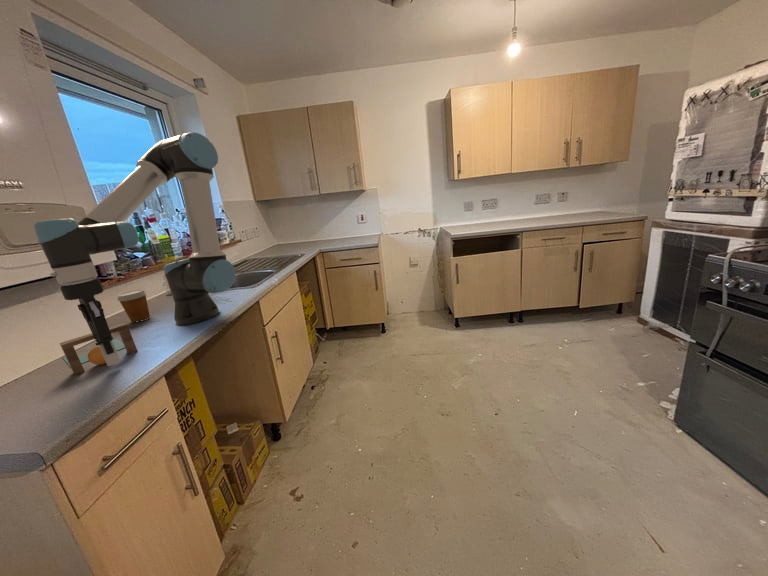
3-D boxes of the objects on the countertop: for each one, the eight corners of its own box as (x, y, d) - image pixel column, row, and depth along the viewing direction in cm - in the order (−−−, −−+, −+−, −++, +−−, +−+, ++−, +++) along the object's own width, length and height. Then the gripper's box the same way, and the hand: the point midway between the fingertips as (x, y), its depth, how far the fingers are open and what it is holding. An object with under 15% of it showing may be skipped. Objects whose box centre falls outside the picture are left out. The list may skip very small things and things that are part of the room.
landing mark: (116, 339, 110) (116, 338, 110) (128, 346, 101) (128, 346, 101) (62, 357, 99) (62, 357, 99) (70, 367, 91) (70, 367, 91)
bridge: (73, 372, 87) (59, 343, 85) (134, 349, 98) (124, 322, 96) (75, 375, 86) (61, 345, 83) (137, 351, 96) (127, 324, 94)
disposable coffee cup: (139, 324, 124) (128, 295, 120) (120, 325, 126) (109, 297, 122) (160, 315, 132) (150, 288, 129) (142, 316, 135) (132, 289, 131)
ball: (106, 339, 93) (114, 346, 90) (110, 355, 95) (118, 362, 92) (82, 347, 88) (89, 354, 86) (87, 363, 90) (94, 370, 88)
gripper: (54, 284, 80) (90, 364, 87) (63, 287, 72) (102, 376, 79) (92, 276, 85) (123, 352, 92) (104, 278, 78) (137, 362, 84)
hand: (113, 363), depth 85 cm, fingers closed
